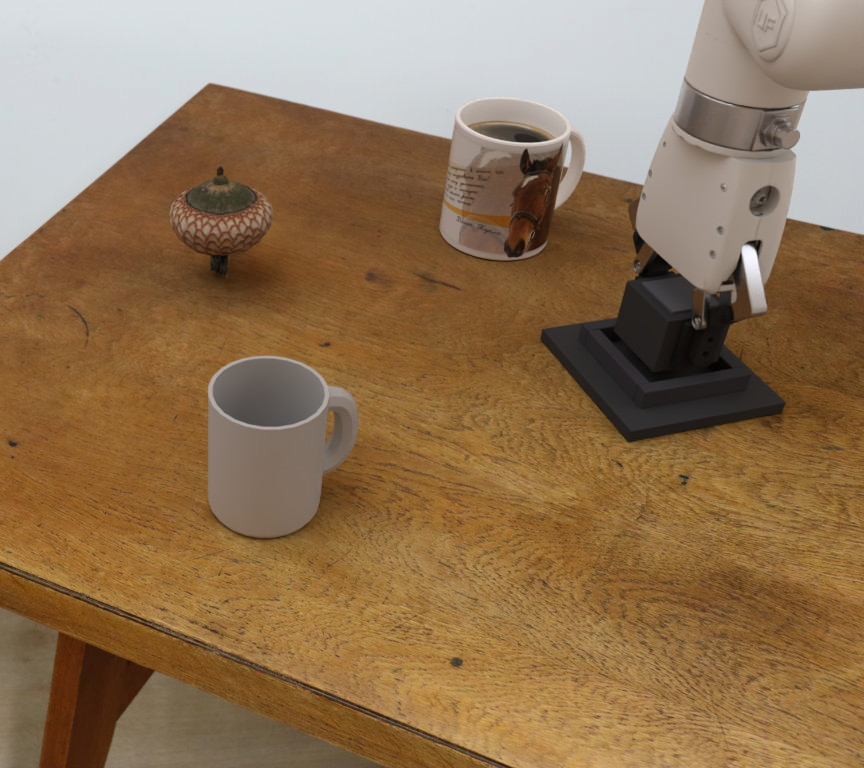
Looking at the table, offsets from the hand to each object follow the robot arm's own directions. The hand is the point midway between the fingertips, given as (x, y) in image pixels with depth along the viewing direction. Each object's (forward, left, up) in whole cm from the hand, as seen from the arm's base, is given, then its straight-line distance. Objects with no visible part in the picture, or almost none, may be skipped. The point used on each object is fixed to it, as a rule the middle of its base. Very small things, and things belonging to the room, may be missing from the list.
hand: (666, 340), depth 82 cm
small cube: (0, 0, 0) cm, 0 cm away
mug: (+22, +2, -3) cm, 23 cm away
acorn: (+21, +29, -3) cm, 36 cm away
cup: (-6, +32, -3) cm, 32 cm away
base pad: (0, 0, -3) cm, 3 cm away
